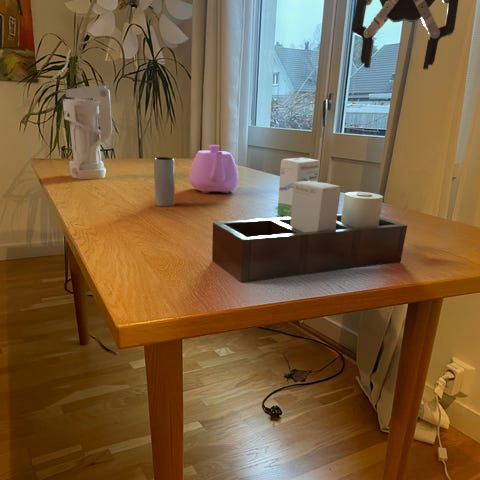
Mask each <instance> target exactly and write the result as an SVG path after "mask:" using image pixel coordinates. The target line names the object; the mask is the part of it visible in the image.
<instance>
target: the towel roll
mask: <svg viewBox="0 0 480 480" xmlns="http://www.w3.org/2000/svg"><path fill="white" fill-rule="evenodd" d="M383 201H384V196H383V195H382V194H378V193H374V192H367V191H348V192H345V193H344V196H343V202H342V211H341V214H342V217H341V223H344V224H347V225H349V226H352V227H355V228H361V227H372V226H379V221H380V217H381V214H382V208H383Z"/></svg>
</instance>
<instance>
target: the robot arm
mask: <svg viewBox="0 0 480 480" xmlns="http://www.w3.org/2000/svg"><path fill="white" fill-rule="evenodd" d="M378 1H379V4H380V6H381V8H380V10H379V11H378V12H377V13H376V15H375V16H374V17H373V19H372V21H371V22H370V23H369V25H368V26H367V27H365V26H364V22H365V16H366V10H367V6H368V7H369V6H370V5H371V4H372V2H373V0H356V2H355V9H354V15H353V20H352V26H351V31H352V33H353V34H354V35H356V36H358V37H361V39H362V45H361V51H360V52H361V53H360V63H361V64H363V67H364V69H370V68H371V63H372V57H373V56H372V55H373V49H374V43H375V42H374V39H373V38H374V37H375V36H376V34H377V33H378V32H379V31H380V30H381V28H382V27H383V26H385V24H386V23H387V22H388V21H390V22H391V23H400V22H407V23H415V22H417V21H419V20H421V23H422V24H423V26H424V28H425V30H426V32H427V33H428V36H429V39H428V40H427V46H426V49H425V54H424V62H423V66H422V70H429V66H433V65H434V63H435V60H436V55H437V49H438V44H439V41H440V40H441V39H442V38H445V37H448V36H451V35H453V33H454V31H455V28H456V19H457V14H458V7H459V0H442V2H443V4H444V5H447V10H446V19H445V25H443V26H440V27H439V26H438V25H437V22H436V21H435V18H434V16H433V14H432V12H431V10H430V7H431V6H432V5H433V4H434V2H435V1H436V0H378Z"/></svg>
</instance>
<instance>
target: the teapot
mask: <svg viewBox="0 0 480 480" xmlns="http://www.w3.org/2000/svg"><path fill="white" fill-rule="evenodd" d="M208 147H209V150H198V151H197V152H196V154H195V157H194V158H193V161H192V163H191V166H190V169H189V177H188V180H189V183H190V185H191V187H192V188H194V189H195V190H197V191H200V193H202V194H208V193H210V192H220V193H221V194H229V193H230V192H232V191H234V190H235V189H236V187H237V186H238V184H239V172H238V167H237V165H236V164H237V163H236V161H235V159H234V156H233V155H232V153H231V152H229V151H225V150H220V148H221V146H220V145H218V144H209V145H208Z"/></svg>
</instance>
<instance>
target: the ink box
mask: <svg viewBox="0 0 480 480" xmlns="http://www.w3.org/2000/svg"><path fill="white" fill-rule="evenodd" d="M320 166H321V160H319V159H314V158H309V157H292V158H283V159H282V160H280V172H279V185H278V200H277V210H276V211H277V212H276V213H277V215H278V216H283V217H291V210H292V199H293V188H294V182H302V181H315V182H319V177H320Z"/></svg>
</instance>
